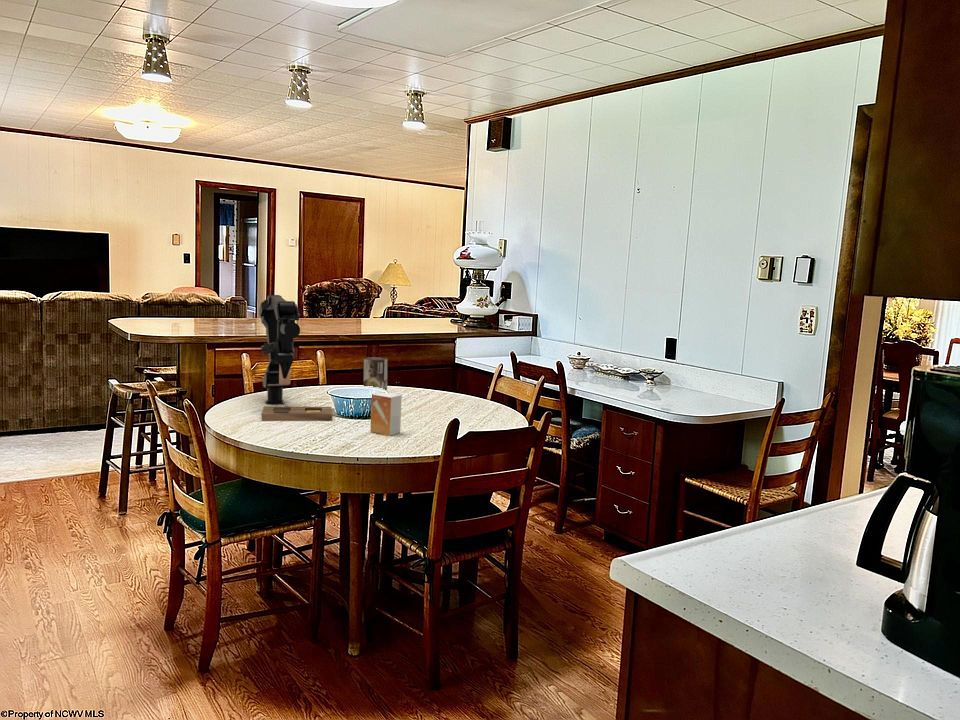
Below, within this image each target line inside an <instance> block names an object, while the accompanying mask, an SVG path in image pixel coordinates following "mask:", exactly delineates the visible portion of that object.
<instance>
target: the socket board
mask: <svg viewBox="0 0 960 720" xmlns="http://www.w3.org/2000/svg"><path fill="white" fill-rule="evenodd" d="M261 421H264V422H265V421H267V422H268V421H270V422H271V421H272V422H273V421H279V422H281V421H282V422H283V421H289V422H290V421H295V422H296V421H297V422H298V421H302V422H303V421H307V422H309V421H315V422H316V421H317V422H318V421H321V422H323V421H325V422H327V421H330V422H331V421H333V408H332V406H263V408H262V411H261Z"/></svg>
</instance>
